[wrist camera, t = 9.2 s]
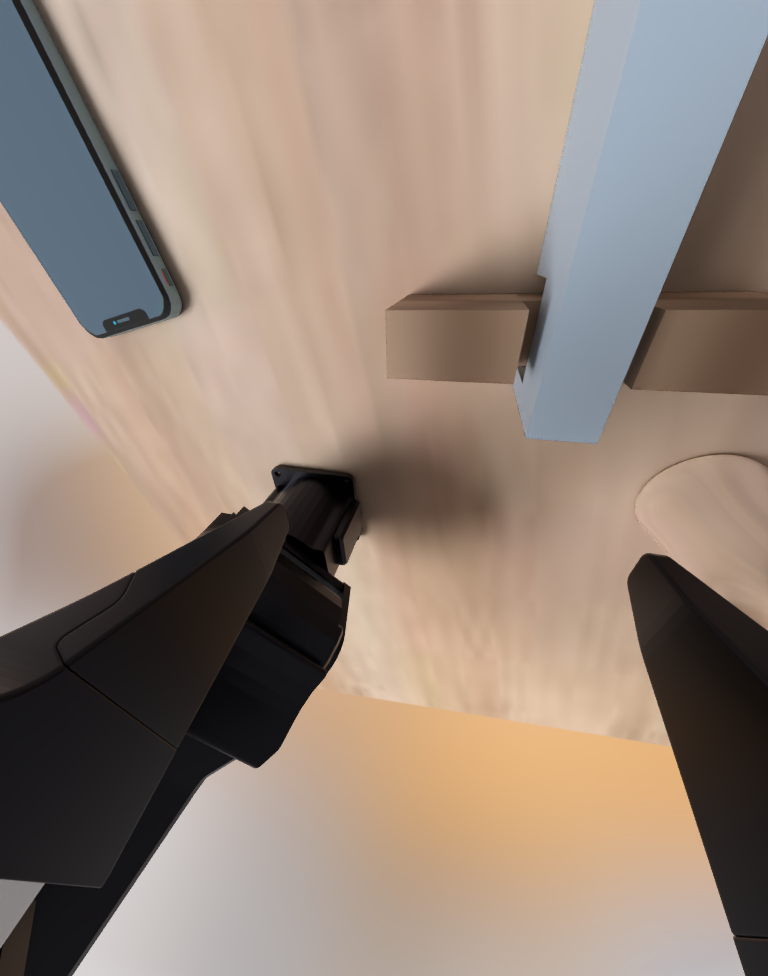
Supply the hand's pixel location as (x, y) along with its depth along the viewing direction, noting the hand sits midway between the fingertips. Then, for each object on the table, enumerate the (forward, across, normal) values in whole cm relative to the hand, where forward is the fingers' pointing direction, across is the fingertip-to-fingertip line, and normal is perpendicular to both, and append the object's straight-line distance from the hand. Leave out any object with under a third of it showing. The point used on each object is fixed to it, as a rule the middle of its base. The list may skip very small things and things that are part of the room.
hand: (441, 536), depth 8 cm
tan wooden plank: (+12, -4, -3) cm, 13 cm away
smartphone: (+13, +21, -10) cm, 27 cm away
